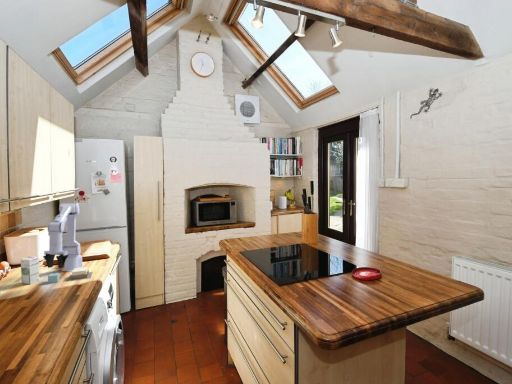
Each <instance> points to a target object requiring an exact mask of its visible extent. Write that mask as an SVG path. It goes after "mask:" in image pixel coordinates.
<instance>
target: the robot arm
mask: <svg viewBox="0 0 512 384" xmlns="http://www.w3.org/2000/svg"><path fill="white" fill-rule="evenodd" d="M80 209H81V208H80V204H79V203H78V202H77V203H75V202H74V203H71V202H70V203H60V204H59V208H58V211H59V214H57V215H56V216H55V217H54V219H53V220H52V222H49V223H48V224H47V232H48V237H49V241H48V242H49V249H48V250H44V251H43V254H44V255H43V256H42V258H43V259H44V260H45V262H46V265H47V268H48V269H50V268H53V267H54V261H55V260H54V259H55V258H56V260H57V266H58V269H61V271H63V272H71V273H72V272H73V270H74V268H82V267H84V266H83V257H82V255H81V251H82V250H81V249H82V248H81V243H80V242H78V241H77V240H76V231H77V227H76V226H77V225H76V224H77V217H79V215H80V213H81V212H80V211H81V210H80ZM65 225H66V226H65ZM65 227H66V241H65V242H64V243H63V232H64V230H65ZM62 268H63V269H62Z"/></svg>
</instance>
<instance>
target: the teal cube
mask: <svg viewBox="0 0 512 384" xmlns="http://www.w3.org/2000/svg"><path fill="white" fill-rule="evenodd" d="M59 281H60V272H55V273H49V274H48V275H47V283H48V284H53V283H54V284H55V283H58V282H59Z"/></svg>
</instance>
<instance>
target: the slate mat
mask: <svg viewBox="0 0 512 384" xmlns="http://www.w3.org/2000/svg"><path fill="white" fill-rule="evenodd" d="M93 274H94V271H89V274H88V277H87V278H81V279H74V280H71V275H72V274H69V276H68V278H67V280H66V282H67V283H69V282H73V281H81V280H91V278H92V275H93Z"/></svg>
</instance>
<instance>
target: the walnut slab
mask: <svg viewBox="0 0 512 384" xmlns="http://www.w3.org/2000/svg"><path fill="white" fill-rule="evenodd" d="M89 272H90V270H89V269H88V271H87V273H86V274H82V275H74V276H72V274H70V275H71V280H74V279H81V278H87V277H88V274H89Z"/></svg>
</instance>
